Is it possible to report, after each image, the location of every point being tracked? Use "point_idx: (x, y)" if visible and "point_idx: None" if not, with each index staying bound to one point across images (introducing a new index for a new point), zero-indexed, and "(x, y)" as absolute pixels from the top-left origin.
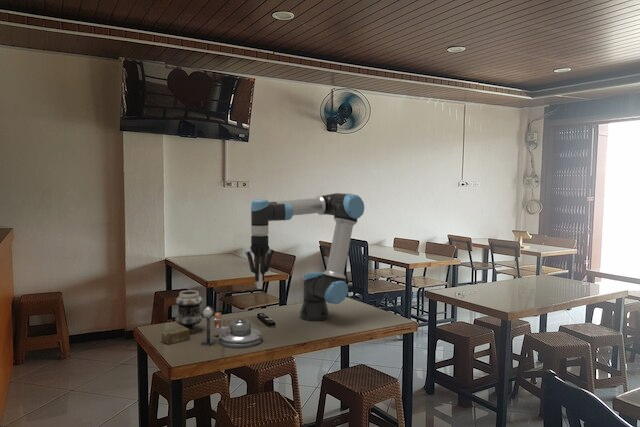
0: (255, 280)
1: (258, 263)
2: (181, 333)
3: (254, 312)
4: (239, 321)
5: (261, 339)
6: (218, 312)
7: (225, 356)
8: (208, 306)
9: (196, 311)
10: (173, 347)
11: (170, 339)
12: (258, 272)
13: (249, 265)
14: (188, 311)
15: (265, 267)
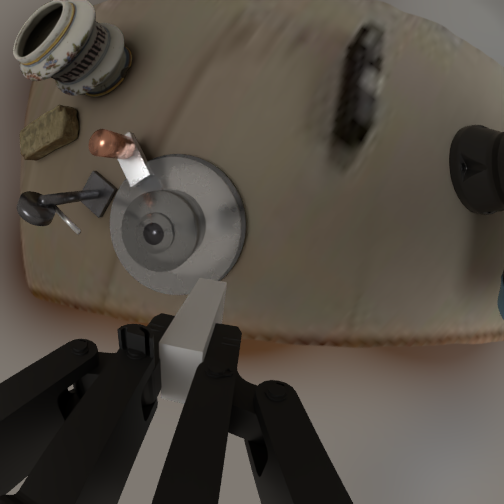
0: (159, 319)
1: (109, 491)
2: (47, 146)
3: (360, 11)
4: (144, 247)
5: (223, 277)
6: (105, 132)
7: (106, 306)
8: (23, 209)
9: (76, 71)
10: (39, 183)
11: (33, 158)
12: (147, 408)
13: (12, 376)
14: (53, 78)
15: (275, 427)
